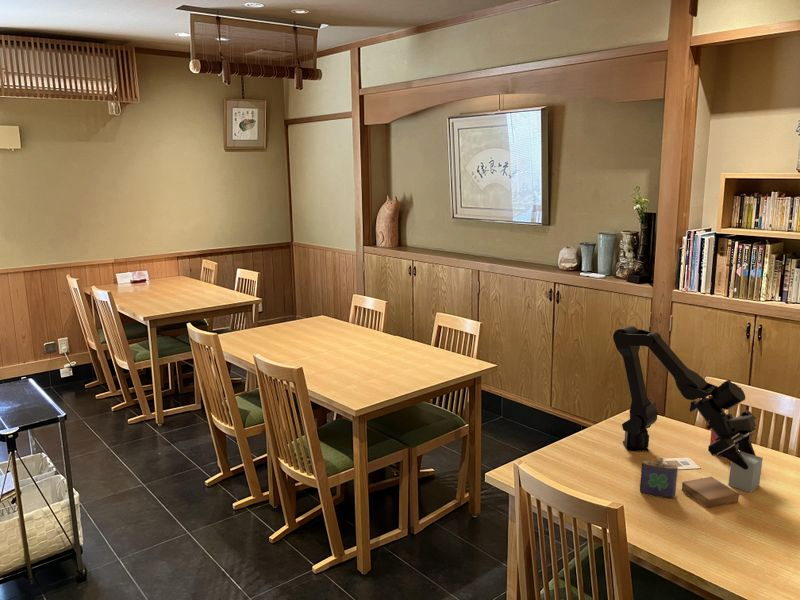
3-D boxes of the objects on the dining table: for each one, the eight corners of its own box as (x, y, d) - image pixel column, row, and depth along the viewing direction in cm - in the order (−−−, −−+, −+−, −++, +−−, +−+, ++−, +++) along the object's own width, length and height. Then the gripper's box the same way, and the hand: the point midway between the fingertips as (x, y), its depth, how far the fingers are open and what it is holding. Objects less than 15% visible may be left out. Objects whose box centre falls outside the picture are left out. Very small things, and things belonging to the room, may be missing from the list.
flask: (675, 495, 179) (678, 459, 177) (675, 500, 177) (678, 463, 174) (639, 489, 183) (642, 453, 180) (639, 494, 180) (642, 458, 178)
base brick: (681, 491, 182) (682, 481, 181) (710, 486, 185) (711, 476, 184) (707, 509, 173) (709, 499, 172) (738, 503, 176) (739, 493, 175)
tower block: (728, 484, 185) (731, 457, 183) (737, 477, 189) (740, 450, 187) (750, 492, 180) (754, 464, 179) (759, 485, 184) (762, 457, 182)
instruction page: (668, 470, 194) (668, 469, 193) (657, 459, 200) (657, 458, 200) (700, 468, 194) (700, 467, 194) (688, 458, 201) (688, 457, 201)
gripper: (723, 412, 176) (762, 463, 171) (751, 395, 188) (788, 443, 183) (692, 430, 184) (728, 480, 178) (721, 413, 196) (755, 459, 190)
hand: (751, 465), depth 182 cm, fingers closed on tower block, 6 cm apart
